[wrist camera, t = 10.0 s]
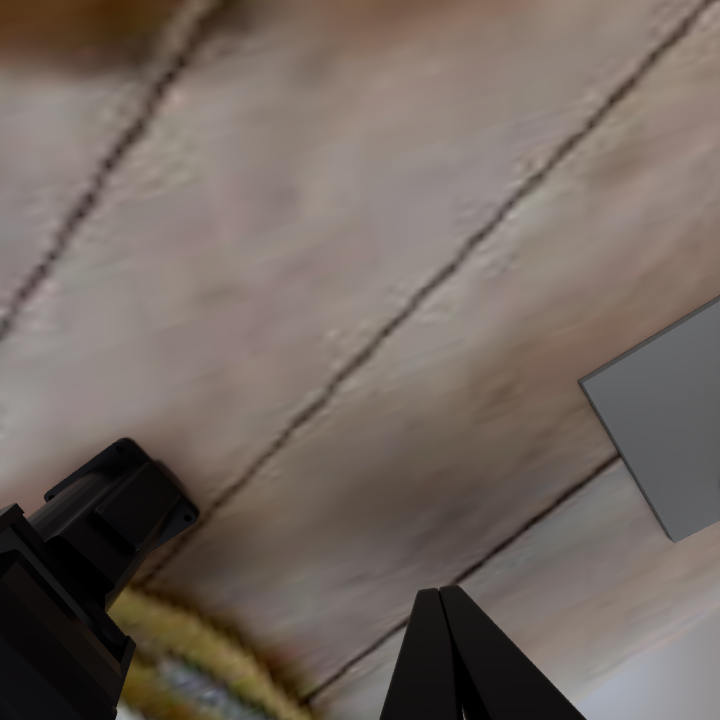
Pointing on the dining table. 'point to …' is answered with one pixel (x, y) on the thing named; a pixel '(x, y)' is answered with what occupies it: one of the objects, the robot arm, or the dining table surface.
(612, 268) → the dining table surface
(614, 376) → the mat
